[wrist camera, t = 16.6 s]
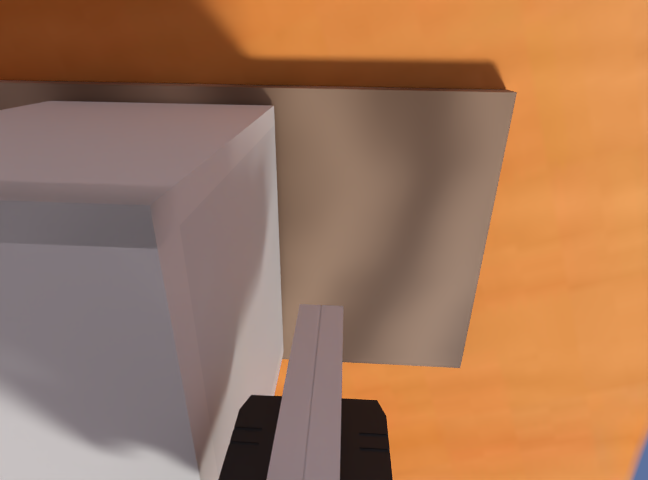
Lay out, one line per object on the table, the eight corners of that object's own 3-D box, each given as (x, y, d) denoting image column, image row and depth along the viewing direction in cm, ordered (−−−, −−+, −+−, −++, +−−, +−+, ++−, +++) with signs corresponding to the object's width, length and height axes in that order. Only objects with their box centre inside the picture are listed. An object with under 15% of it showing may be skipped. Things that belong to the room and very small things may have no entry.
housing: (114, 343, 24) (-83, 593, 13) (49, 100, 18) (-408, 187, 7) (283, 351, 23) (225, 618, 13) (273, 105, 18) (149, 205, 7)
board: (69, 334, 26) (45, 359, 24) (-13, 79, 19) (-55, 83, 17) (455, 353, 25) (464, 380, 23) (506, 89, 18) (526, 95, 16)
